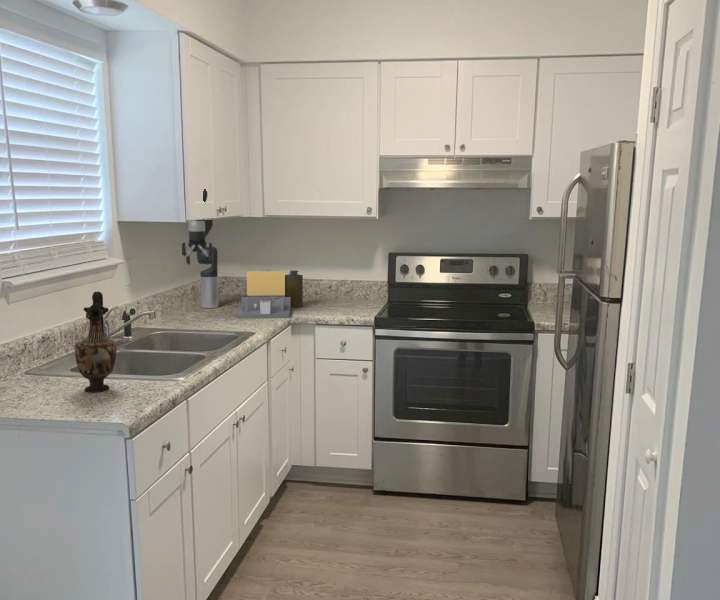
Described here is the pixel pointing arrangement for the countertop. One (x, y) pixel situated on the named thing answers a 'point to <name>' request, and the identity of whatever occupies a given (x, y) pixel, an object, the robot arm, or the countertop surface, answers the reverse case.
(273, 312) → the housing base
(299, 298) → the canister
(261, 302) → the silver jaw
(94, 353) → the vase
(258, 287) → the lid
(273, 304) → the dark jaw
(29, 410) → the countertop surface
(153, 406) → the countertop surface
